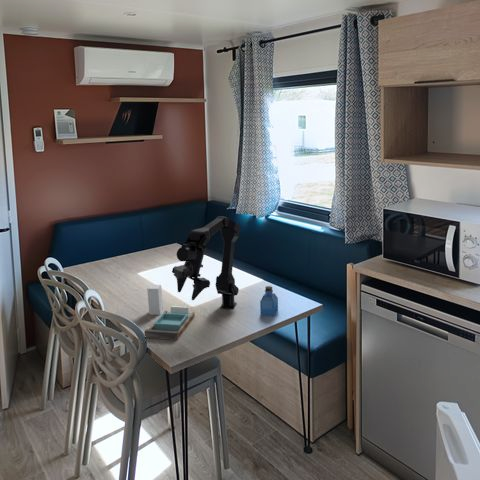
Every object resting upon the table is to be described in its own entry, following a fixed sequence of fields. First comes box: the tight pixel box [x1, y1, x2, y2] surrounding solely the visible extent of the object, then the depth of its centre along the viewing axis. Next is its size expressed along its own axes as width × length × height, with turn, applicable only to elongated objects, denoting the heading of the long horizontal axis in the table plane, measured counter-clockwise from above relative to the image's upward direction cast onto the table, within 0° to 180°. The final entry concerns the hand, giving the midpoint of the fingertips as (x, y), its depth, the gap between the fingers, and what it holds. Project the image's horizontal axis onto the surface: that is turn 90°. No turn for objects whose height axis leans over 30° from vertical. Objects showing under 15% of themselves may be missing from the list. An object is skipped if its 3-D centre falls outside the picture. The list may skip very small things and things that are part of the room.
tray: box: [153, 305, 192, 331], centre depth 219 cm, size 17×11×4 cm, turn 168°
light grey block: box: [146, 284, 164, 316], centre depth 230 cm, size 5×5×12 cm
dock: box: [144, 310, 196, 341], centre depth 216 cm, size 24×14×3 cm, turn 168°
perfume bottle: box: [259, 285, 279, 317], centre depth 226 cm, size 6×6×12 cm
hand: (185, 296), depth 213 cm, fingers open, 9 cm apart
